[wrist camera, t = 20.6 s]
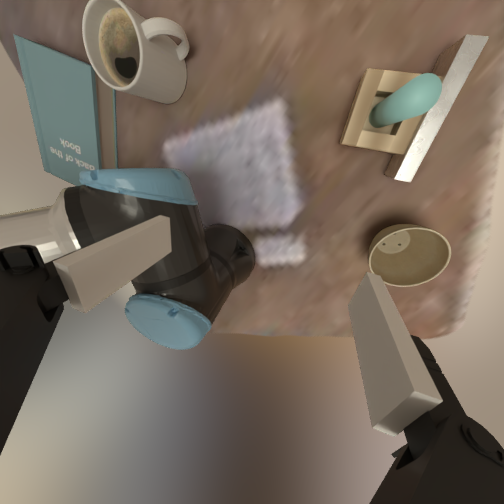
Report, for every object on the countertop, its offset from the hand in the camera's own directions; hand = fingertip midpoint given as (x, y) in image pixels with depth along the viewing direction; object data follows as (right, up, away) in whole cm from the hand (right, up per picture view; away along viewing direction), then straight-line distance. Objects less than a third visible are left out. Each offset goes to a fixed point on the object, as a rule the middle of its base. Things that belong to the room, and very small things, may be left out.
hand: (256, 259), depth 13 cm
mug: (-14, +31, +20) cm, 39 cm away
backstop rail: (+23, +18, +14) cm, 32 cm away
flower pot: (+25, +3, +22) cm, 33 cm away
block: (+18, +20, +15) cm, 31 cm away
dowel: (+18, +20, +14) cm, 30 cm away
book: (-36, +27, +30) cm, 54 cm away
